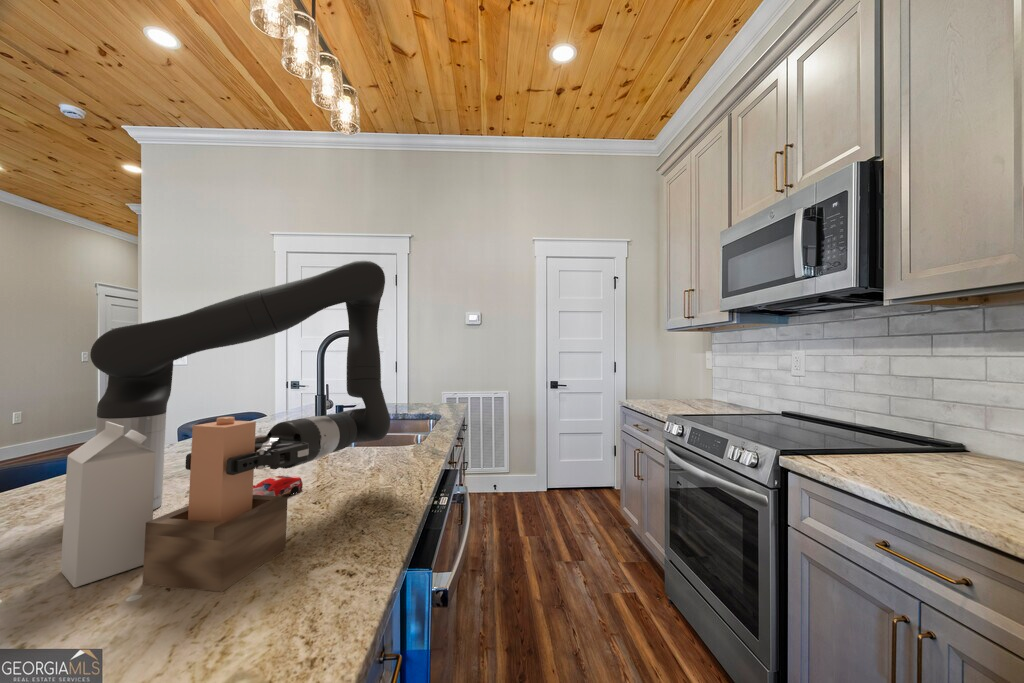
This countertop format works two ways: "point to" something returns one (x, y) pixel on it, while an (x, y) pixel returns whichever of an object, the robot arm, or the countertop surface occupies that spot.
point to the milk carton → (107, 505)
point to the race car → (278, 486)
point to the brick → (220, 470)
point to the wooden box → (213, 546)
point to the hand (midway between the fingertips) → (208, 464)
